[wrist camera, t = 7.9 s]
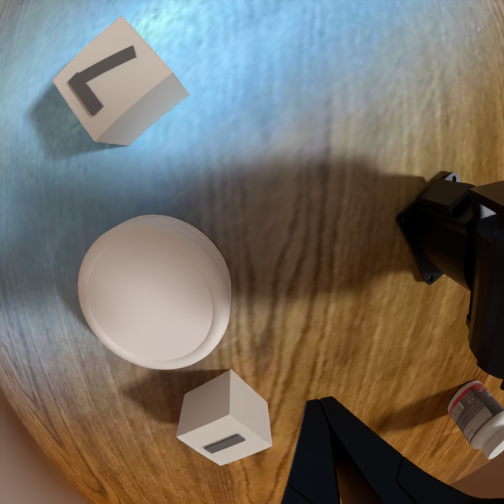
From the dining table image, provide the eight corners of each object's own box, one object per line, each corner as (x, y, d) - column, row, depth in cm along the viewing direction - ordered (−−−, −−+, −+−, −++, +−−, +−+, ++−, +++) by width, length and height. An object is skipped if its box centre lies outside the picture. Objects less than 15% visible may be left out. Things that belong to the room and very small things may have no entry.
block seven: (190, 95, 16) (172, 71, 11) (129, 145, 17) (92, 141, 12) (147, 46, 15) (120, 14, 10) (91, 95, 16) (50, 79, 11)
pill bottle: (484, 384, 25) (524, 430, 16) (456, 414, 27) (490, 464, 17) (470, 374, 24) (515, 426, 15) (439, 408, 26) (476, 464, 16)
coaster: (126, 186, 18) (103, 192, 14) (259, 259, 20) (262, 279, 16) (82, 304, 20) (62, 326, 17) (193, 364, 22) (187, 393, 19)
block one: (267, 402, 23) (272, 448, 18) (222, 423, 24) (220, 467, 19) (230, 368, 22) (229, 416, 17) (184, 393, 23) (175, 439, 18)
